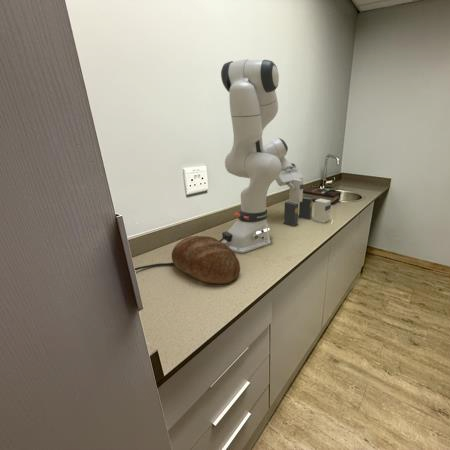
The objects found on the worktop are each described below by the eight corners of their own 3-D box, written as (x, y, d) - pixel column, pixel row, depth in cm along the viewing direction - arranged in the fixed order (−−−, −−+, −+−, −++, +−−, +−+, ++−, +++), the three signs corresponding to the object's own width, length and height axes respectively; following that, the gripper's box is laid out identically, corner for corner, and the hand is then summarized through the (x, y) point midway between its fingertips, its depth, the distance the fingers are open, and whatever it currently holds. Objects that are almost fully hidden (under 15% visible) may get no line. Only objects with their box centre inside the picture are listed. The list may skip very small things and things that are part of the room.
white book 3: (326, 221, 140) (328, 201, 135) (316, 219, 143) (317, 199, 139) (329, 220, 142) (331, 200, 138) (318, 217, 146) (320, 198, 141)
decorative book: (309, 185, 197) (344, 190, 185) (308, 194, 200) (343, 200, 188) (298, 189, 181) (336, 195, 169) (297, 199, 184) (335, 205, 172)
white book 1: (299, 202, 133) (300, 180, 129) (289, 200, 137) (289, 178, 132) (302, 201, 135) (303, 180, 131) (292, 199, 139) (292, 178, 135)
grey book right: (309, 219, 142) (310, 199, 138) (298, 217, 145) (299, 197, 141) (311, 217, 145) (312, 198, 140) (301, 215, 148) (302, 196, 143)
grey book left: (294, 226, 130) (295, 204, 126) (284, 223, 134) (284, 202, 130) (297, 224, 133) (298, 203, 129) (287, 221, 136) (288, 201, 132)
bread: (199, 249, 100) (196, 223, 96) (251, 272, 86) (250, 243, 82) (161, 264, 88) (156, 236, 84) (215, 294, 73) (211, 261, 69)
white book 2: (324, 223, 137) (326, 202, 133) (313, 220, 141) (314, 200, 136) (326, 221, 139) (328, 201, 135) (316, 219, 143) (317, 199, 139)
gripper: (274, 166, 125) (289, 188, 123) (297, 163, 141) (310, 183, 139) (268, 174, 129) (282, 195, 127) (290, 170, 145) (303, 189, 143)
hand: (297, 188), depth 133 cm, fingers closed on white book 1, 3 cm apart
